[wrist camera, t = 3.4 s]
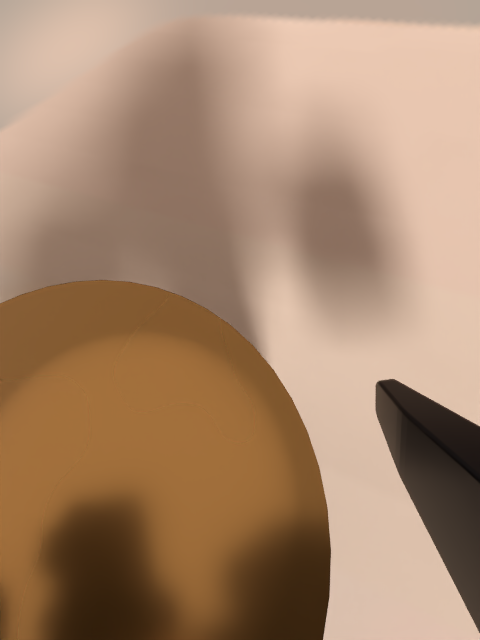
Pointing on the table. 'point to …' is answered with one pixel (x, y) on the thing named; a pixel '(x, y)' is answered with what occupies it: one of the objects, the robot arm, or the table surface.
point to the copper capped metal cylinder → (151, 476)
